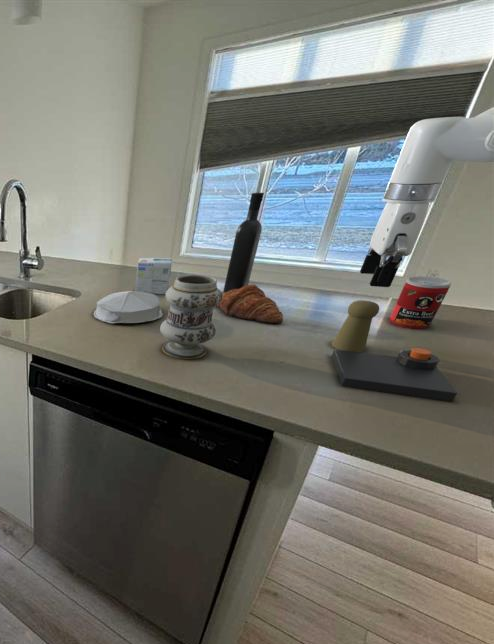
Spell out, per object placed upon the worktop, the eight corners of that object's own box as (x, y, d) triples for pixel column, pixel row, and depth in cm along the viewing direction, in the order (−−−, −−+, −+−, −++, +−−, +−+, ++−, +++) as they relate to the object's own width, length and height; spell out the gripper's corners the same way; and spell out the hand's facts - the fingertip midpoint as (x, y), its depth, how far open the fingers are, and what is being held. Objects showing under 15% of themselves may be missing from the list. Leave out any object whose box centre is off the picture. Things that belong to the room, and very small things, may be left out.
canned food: (390, 326, 102) (409, 283, 97) (386, 315, 108) (404, 275, 102) (432, 331, 98) (455, 287, 93) (426, 320, 104) (447, 277, 98)
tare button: (425, 355, 83) (429, 349, 82) (430, 361, 81) (433, 354, 80) (407, 354, 84) (410, 347, 83) (411, 359, 82) (414, 352, 81)
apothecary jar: (190, 337, 106) (203, 269, 97) (221, 357, 96) (240, 282, 87) (148, 344, 105) (157, 275, 96) (174, 364, 94) (188, 289, 85)
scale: (426, 367, 85) (434, 352, 83) (452, 401, 74) (462, 385, 72) (330, 356, 92) (336, 342, 90) (341, 386, 81) (348, 370, 80)
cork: (329, 340, 99) (345, 296, 93) (360, 343, 96) (379, 298, 91) (334, 350, 94) (352, 305, 88) (368, 353, 92) (388, 307, 86)
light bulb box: (168, 288, 141) (173, 257, 135) (167, 295, 135) (172, 262, 130) (136, 287, 145) (139, 257, 139) (133, 293, 140) (137, 261, 134)
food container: (155, 330, 112) (159, 306, 109) (85, 322, 121) (86, 300, 118) (167, 306, 127) (170, 285, 123) (103, 300, 136) (105, 280, 132)
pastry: (276, 306, 119) (284, 280, 115) (282, 325, 108) (291, 296, 104) (212, 302, 127) (218, 276, 123) (211, 319, 115) (217, 292, 111)
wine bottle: (221, 295, 131) (243, 194, 116) (228, 290, 134) (250, 191, 119) (240, 298, 128) (265, 194, 113) (246, 293, 131) (272, 191, 116)
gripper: (454, 198, 70) (408, 293, 79) (422, 187, 83) (386, 270, 92) (397, 199, 74) (359, 290, 82) (374, 188, 87) (344, 268, 95)
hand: (373, 279), depth 87 cm, fingers open, 9 cm apart
